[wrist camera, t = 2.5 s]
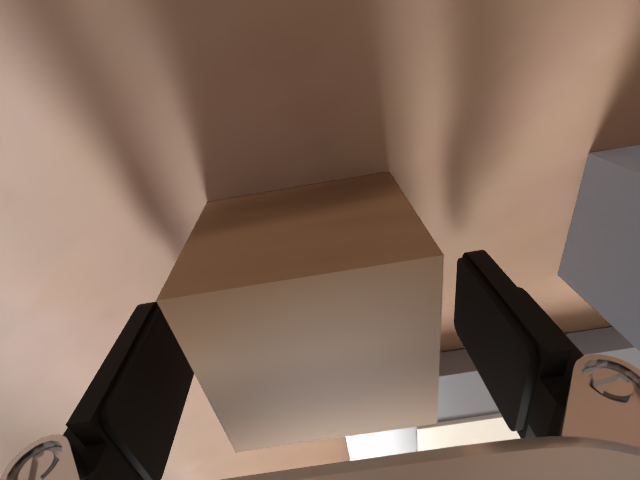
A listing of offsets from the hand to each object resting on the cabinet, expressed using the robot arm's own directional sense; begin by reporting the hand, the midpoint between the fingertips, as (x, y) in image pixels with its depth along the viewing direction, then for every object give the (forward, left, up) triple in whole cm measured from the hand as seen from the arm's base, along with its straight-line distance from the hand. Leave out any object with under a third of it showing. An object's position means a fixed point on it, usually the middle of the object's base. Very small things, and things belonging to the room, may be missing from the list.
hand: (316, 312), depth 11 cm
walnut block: (0, 0, -2) cm, 2 cm away
